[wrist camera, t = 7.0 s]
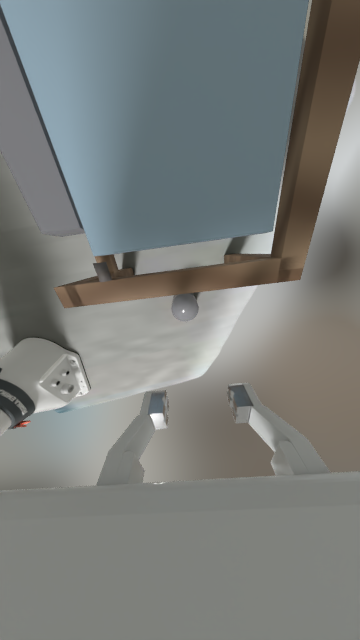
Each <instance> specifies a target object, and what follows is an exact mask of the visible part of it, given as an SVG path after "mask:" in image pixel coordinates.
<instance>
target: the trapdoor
mask: <svg viewBox="0 0 360 640" xmlns="http://www.w3.org/2000/svg"><path fill="white" fill-rule="evenodd" d="M308 2H309V0H0V151H1V153H2V155H3V157H4V159H5V161H6V163H7V165H8V167H9V169H10V171H11V173H12V175H13V177H14V179H15V181H16V183H17V185H18V187H19V189H20V191H21V193H22V195H23V197H24V199H25V201H26V203H27V205H28V207H29V209H30V211H31V213H32V215H33V217H34V219H35V221H36V223H37V225H38V227H39V229H40V231H41V233H42V234H48V235H54V236H61V237H62V236H69V235H76V234H83V233H86V236H87V239H88V241H89V244H90V247H91V250H92V252H93V255H94V256H104V255H112V254H119V253H126V252H133V251H140V250H147V249H154V248H162V247H169V246H176V245H183V244H190V243H197V242H204V241H212V240H219V239H226V238H233V237H240V236H247V235H254V234H262V233H267V232H272V231H273V226H274V220H275V213H276V207H277V201H278V194H279V188H280V181H281V175H282V169H283V162H284V156H285V149H286V143H287V137H288V130H289V124H290V117H291V111H292V105H293V98H294V92H295V85H296V79H297V73H298V66H299V60H300V53H301V47H302V41H303V34H304V28H305V21H306V14H307V9H308Z"/></svg>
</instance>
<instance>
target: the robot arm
mask: <svg viewBox="0 0 360 640" xmlns="http://www.w3.org/2000/svg"><path fill="white" fill-rule="evenodd" d="M89 390H90V386H89V383H88V380H87V377H86V375H85V372H84V369H83V366H82V363H81V360H80V357H79V355H78V354H76V353H74V352H71V351H68V350H65V349H64V348H62V347H60V346H59V345H57V344H55V343H53V342H51V341H48V340H45V339H41V338H26V339H23V340H21V341H20V342H19V343H18V344H17V345H16V346H15V347H14V348H13V349H12V350H11V351H10V352H8V353H7V354H6V355H5V356H3V357H2V358H1V359H0V436H1V435H2V434H3V433H4V432H5V431H6V430H7V429H15V428H16V427H26V425H23V424H26V423H29V422H30V421H23V420H24V419H25V418H27V417H28V416H30V415H31V414H32V413H37V412H42V411H46V410H52V409H57V408H60V407H63V406H65V405H67V404H68V403H69V402H70V401H71V400H72V399H73V398H74V397H77V396H81V395H84V394H86V393H88V392H89ZM227 397H228V402H229V405H230V407H231V408H232V414H233V416H234V420H235V423H249V424H250V426H251V427H252V428H253V429H254V430H255V431H256V432H257V433H258V434H259V435H260V436H261V438H262V439H263V440H264V441H265V442H266V443H267V444H268V445H269V446H270V447H271V449H272V450H273V451H274V452H275V454H274V456H273V458H272V461H271V464H272V467H273V469H274V471H275V474H276V476H264V477H246V478H227V479H208V480H192V481H172V482H153V483H143V477H144V468H143V467H142V465H141V464H140V462H139V459H140V457H141V455H142V454H143V452H144V450H145V448H146V446H147V445H148V443H149V441H150V439H151V437H152V435H153V434H154V432H155V429H165V428H167V426H168V415H167V412H168V411H169V401H168V397H167V392H166V390H163V391H149V392H146V393H145V395H144V399H143V403H142V407H141V411H140V415H138V416H137V417H136V418H135V419H134V420H133V422H132V423H131V424H130V425H129V427H128V428H127V429H126V430H125V432H124V433H123V434H122V435H121V437H120V438H119V439H118V440H117V442H116V443H115V444H114V445H113V447H112V448H111V449H110V450H109V452H108V455H107V457H106V460H105V463H104V466H103V468H102V471H101V474H100V477H99V479H98V482H97V485H96V486H79V487H61V488H43V489H25V490H6V491H0V640H360V471H356V472H338V473H331V472H330V471H329V469H328V468H327V467H326V465H325V464H324V462H323V461H322V459H321V458H320V456H319V455H318V453H317V452H316V451H315V449H314V448H313V446H312V445H311V444H310V442H309V441H308V439H307V438H306V437H304V436H303V435H302V434H301V433H299V432H298V431H297V430H296V429H294V428H293V427H292V426H290V425H289V424H288V423H287V422H285V421H284V420H283V419H281V418H280V417H279V416H278V415H276V414H275V413H274V412H272V411H271V410H270V409H269V408H267V407H266V406H264V405H262V404H261V402H260V400H259V399H258V397H257V395H256V393H255V391H254V390H253V388H252V386H251V384H250V383H238V384H229V385H228V392H227Z"/></svg>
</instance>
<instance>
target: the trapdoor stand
mask: <svg viewBox="0 0 360 640" xmlns="http://www.w3.org/2000/svg"><path fill="white" fill-rule="evenodd" d="M359 61H360V0H312V5H311V11H310V17H309V23H308V30H307V36H306V42H305V48H304V54H303V60H302V66H301V73H300V79H299V85H298V91H297V97H296V103H295V110H294V116H293V122H292V128H291V134H290V140H289V147H288V153H287V159H286V165H285V171H284V177H283V184H282V190H281V196H280V202H279V208H278V214H277V221H276V227H275V233H274V239H273V245H272V251H271V254H229V255H224V264H217V265H210V266H202V267H194V268H187V269H179V270H172V271H164V272H156V273H149V274H141V275H134V273H133V270H132V268H126V269H120V270H118V267H117V264H116V261H115V258H114V254H112V255H104V256H95V259H96V261H97V263H94V264H93V265H94V268H95V270H96V273H97V275H98V276H95V277H91V278H87V279H84V280H80V281H77V282H73V283H69V284H66V285H62V286H58V287H55V288H54V290H55V292H56V293H57V295H58V297H59V299H60V301H61V303H62V304H63V306H64V308H71V307H79V306H87V305H95V304H104V303H112V302H120V301H129V300H137V299H145V298H154V297H162V296H170V295H178V294H187V293H195V292H203V291H212V290H220V289H228V288H237V287H245V286H253V285H261V284H269V283H278V282H286V281H295V280H300V279H301V275H302V271H303V267H304V264H305V260H306V256H307V253H308V249H309V245H310V242H311V238H312V234H313V231H314V227H315V223H316V220H317V216H318V212H319V208H320V204H321V201H322V197H323V194H324V190H325V186H326V183H327V178H328V175H329V171H330V167H331V164H332V160H333V156H334V153H335V149H336V146H337V142H338V138H339V134H340V131H341V127H342V123H343V120H344V116H345V112H346V109H347V105H348V101H349V98H350V94H351V90H352V86H353V83H354V79H355V75H356V72H357V68H358V64H359Z"/></svg>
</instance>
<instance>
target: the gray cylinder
mask: <svg viewBox="0 0 360 640" xmlns="http://www.w3.org/2000/svg"><path fill="white" fill-rule="evenodd" d="M172 313H173V315H174V317H175V318H176V319H178V320H180V321H189V320H192V319H193V318H194V317H195V316H196V315H197V313H198V304H197V301H196V298H195V295H194V294H193V293H187V294H178V295H174V297H173V303H172Z"/></svg>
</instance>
